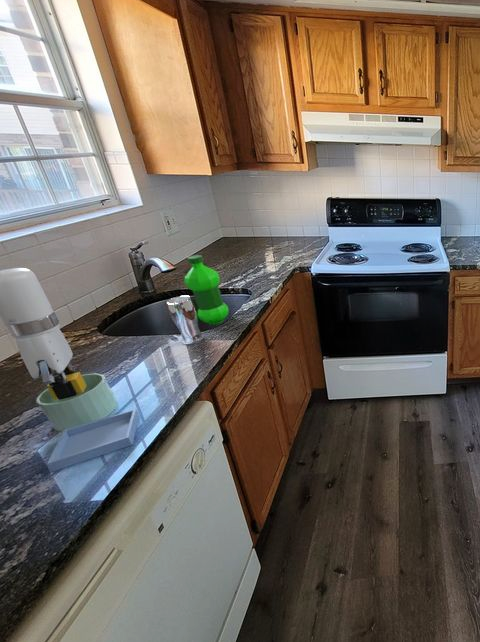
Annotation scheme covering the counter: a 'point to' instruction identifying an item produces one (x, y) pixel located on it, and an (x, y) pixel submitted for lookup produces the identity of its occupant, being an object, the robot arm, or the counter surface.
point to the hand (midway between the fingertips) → (70, 391)
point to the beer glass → (185, 318)
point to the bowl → (79, 404)
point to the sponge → (76, 382)
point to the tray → (94, 439)
